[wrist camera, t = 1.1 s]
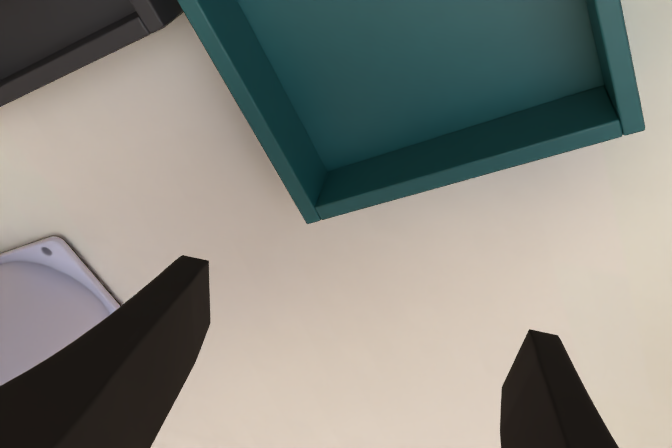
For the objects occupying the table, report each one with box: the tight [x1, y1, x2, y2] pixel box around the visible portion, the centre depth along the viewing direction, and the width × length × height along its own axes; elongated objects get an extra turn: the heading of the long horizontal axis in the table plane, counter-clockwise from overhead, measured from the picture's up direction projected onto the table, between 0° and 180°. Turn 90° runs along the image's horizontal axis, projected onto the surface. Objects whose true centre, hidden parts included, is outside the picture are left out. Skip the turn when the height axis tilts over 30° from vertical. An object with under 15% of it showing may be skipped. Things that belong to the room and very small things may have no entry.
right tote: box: [177, 0, 645, 224], centre depth 17 cm, size 11×11×3 cm
